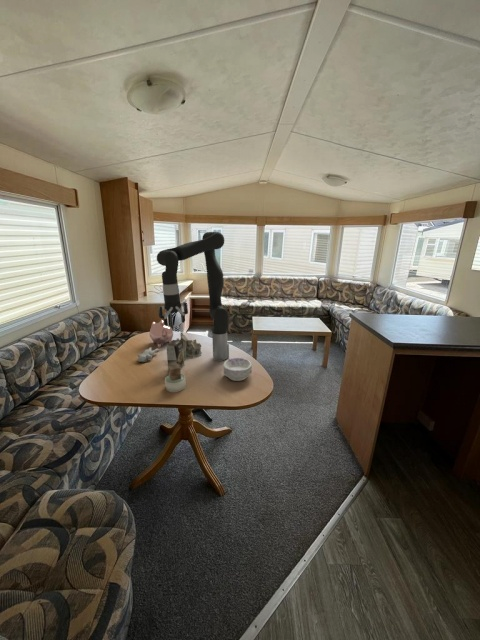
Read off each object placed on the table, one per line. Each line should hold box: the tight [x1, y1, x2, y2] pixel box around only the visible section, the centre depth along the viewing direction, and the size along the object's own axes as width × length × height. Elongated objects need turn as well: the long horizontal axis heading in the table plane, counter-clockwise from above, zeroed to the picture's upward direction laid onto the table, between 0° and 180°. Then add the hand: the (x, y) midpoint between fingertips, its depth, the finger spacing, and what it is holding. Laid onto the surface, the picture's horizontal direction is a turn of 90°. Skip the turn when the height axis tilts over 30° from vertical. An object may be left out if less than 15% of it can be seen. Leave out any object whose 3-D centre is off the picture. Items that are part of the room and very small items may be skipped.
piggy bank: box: [149, 319, 174, 348], centre depth 185 cm, size 15×18×16 cm
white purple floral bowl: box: [223, 357, 253, 382], centre depth 140 cm, size 15×15×8 cm
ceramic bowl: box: [164, 373, 187, 393], centre depth 131 cm, size 10×10×5 cm
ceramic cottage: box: [175, 331, 203, 361], centre depth 166 cm, size 16×16×15 cm
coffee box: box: [165, 339, 186, 372], centre depth 148 cm, size 9×6×16 cm
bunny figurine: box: [137, 347, 160, 363], centre depth 164 cm, size 10×5×15 cm
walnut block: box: [168, 364, 182, 381], centre depth 130 cm, size 4×4×6 cm
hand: (174, 323), depth 132 cm, fingers open, 8 cm apart
